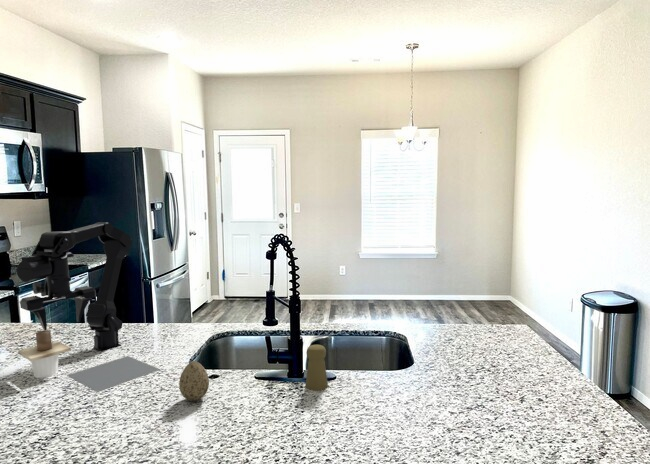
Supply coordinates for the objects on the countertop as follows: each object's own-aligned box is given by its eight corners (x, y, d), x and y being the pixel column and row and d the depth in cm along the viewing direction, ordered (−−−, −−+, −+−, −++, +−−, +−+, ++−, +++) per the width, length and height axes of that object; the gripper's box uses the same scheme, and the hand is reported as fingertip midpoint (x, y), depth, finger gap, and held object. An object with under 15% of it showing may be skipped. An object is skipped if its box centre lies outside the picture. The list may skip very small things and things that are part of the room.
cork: (325, 392, 113) (325, 350, 112) (302, 390, 114) (302, 349, 113) (329, 382, 119) (329, 342, 118) (308, 380, 120) (307, 341, 119)
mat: (128, 357, 138) (127, 355, 138) (160, 371, 127) (160, 369, 127) (67, 377, 124) (66, 375, 124) (97, 394, 113) (97, 392, 113)
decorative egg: (214, 400, 109) (213, 361, 108) (187, 409, 105) (185, 369, 104) (201, 390, 115) (200, 353, 114) (175, 399, 110) (173, 360, 109)
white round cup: (65, 371, 128) (64, 347, 127) (48, 381, 121) (46, 356, 121) (44, 370, 129) (42, 347, 128) (26, 380, 122) (23, 356, 121)
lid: (57, 343, 132) (55, 324, 131) (71, 350, 125) (69, 330, 125) (18, 353, 124) (16, 333, 123) (31, 361, 118) (29, 340, 117)
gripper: (78, 266, 141) (82, 313, 143) (10, 277, 126) (15, 329, 128) (94, 270, 134) (98, 319, 136) (25, 281, 120) (30, 336, 121)
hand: (62, 325), depth 131 cm, fingers open, 9 cm apart
